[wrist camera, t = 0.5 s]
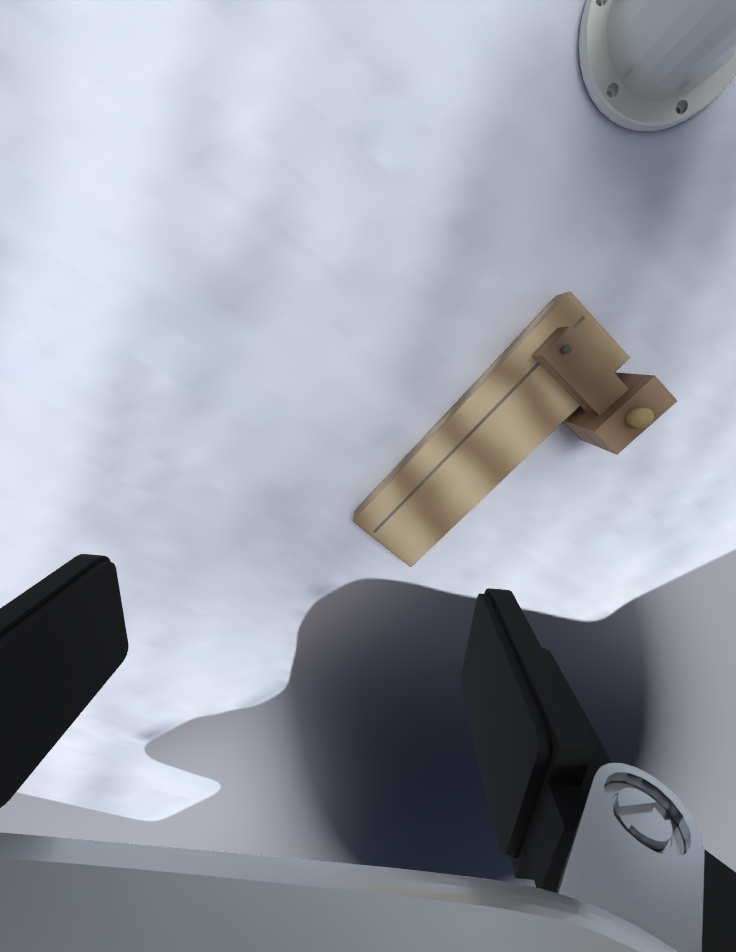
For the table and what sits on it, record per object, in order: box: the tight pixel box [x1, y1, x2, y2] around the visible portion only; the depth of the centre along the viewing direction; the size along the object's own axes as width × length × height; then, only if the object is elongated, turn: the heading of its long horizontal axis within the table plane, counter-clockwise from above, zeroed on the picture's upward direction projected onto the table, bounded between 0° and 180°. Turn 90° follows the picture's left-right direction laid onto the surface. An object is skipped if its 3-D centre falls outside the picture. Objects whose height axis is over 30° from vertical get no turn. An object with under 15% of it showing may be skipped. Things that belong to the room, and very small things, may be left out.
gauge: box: [532, 326, 677, 454], centre depth 33 cm, size 6×11×7 cm, turn 49°
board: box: [353, 292, 630, 567], centre depth 37 cm, size 28×8×2 cm, turn 139°
